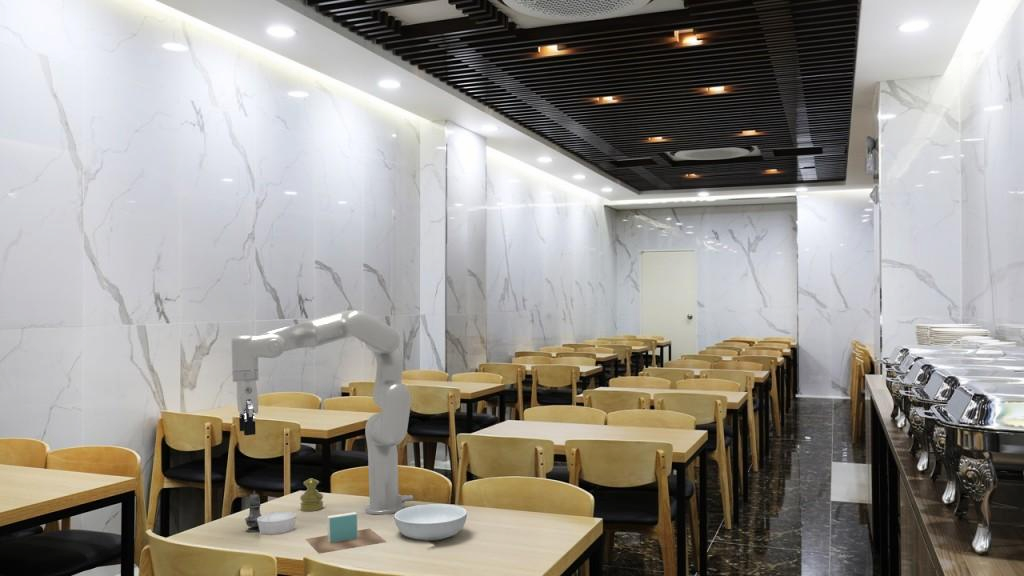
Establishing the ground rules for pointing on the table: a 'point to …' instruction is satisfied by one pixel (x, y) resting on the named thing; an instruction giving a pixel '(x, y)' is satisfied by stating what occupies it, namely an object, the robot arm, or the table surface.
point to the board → (363, 539)
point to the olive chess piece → (311, 496)
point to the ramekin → (276, 522)
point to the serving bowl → (430, 521)
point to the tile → (342, 527)
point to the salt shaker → (253, 513)
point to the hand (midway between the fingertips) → (247, 432)
